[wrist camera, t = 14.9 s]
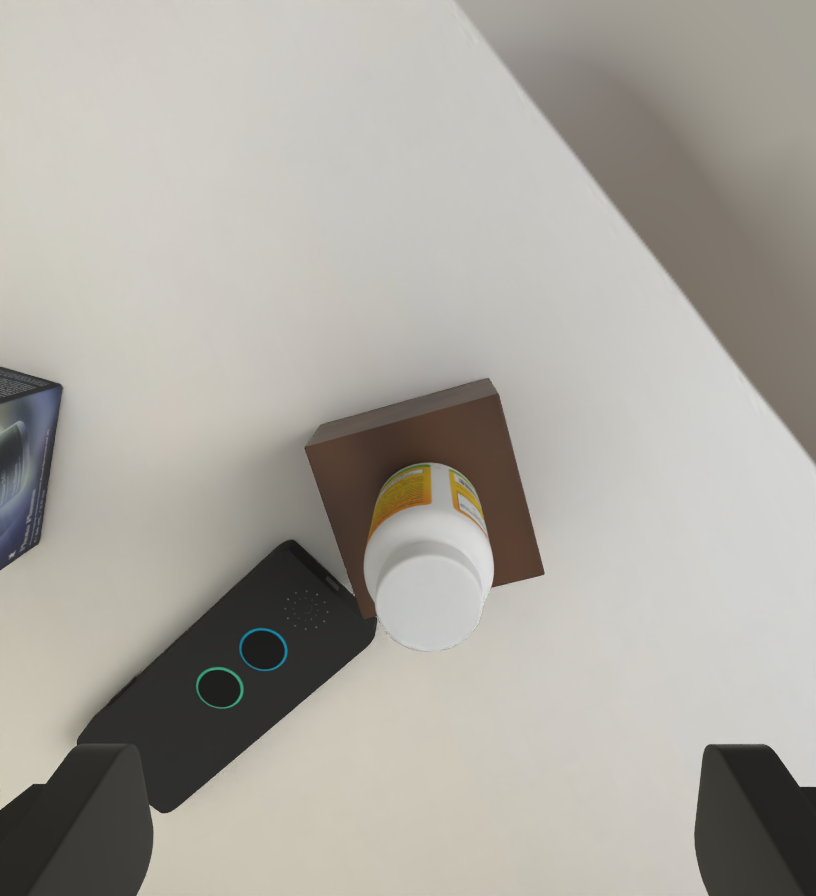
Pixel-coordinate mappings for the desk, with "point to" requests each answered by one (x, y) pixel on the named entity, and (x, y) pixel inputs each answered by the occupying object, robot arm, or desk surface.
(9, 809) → the robot arm
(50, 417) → the small box
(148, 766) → the smart home device
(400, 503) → the supplement bottle
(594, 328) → the desk surface
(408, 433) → the walnut block
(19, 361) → the desk surface
